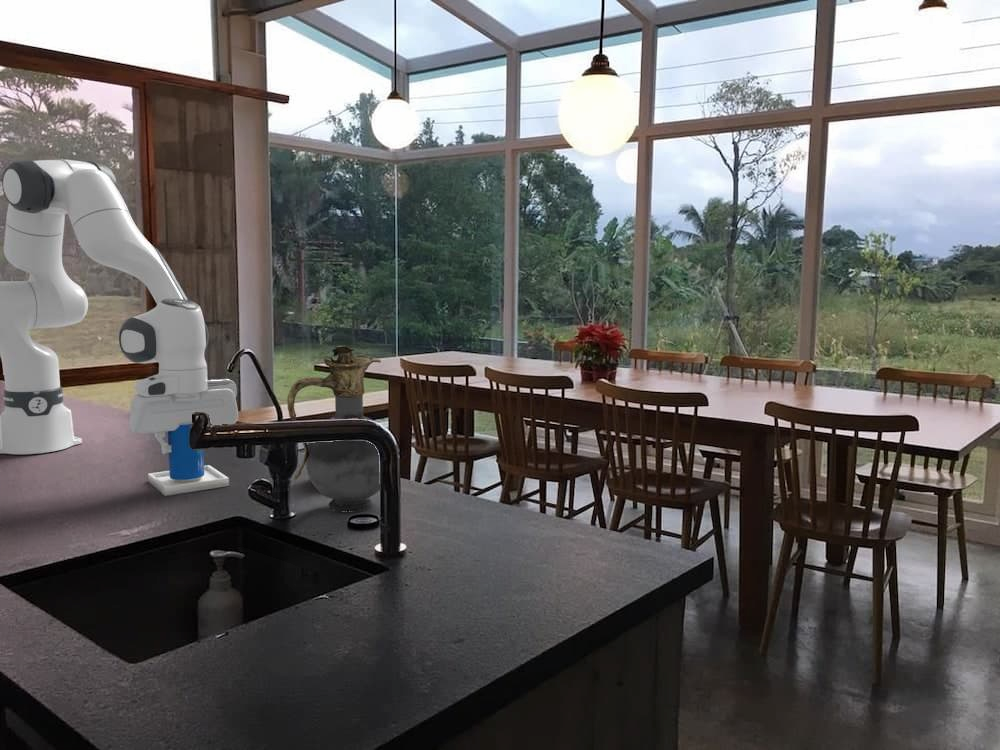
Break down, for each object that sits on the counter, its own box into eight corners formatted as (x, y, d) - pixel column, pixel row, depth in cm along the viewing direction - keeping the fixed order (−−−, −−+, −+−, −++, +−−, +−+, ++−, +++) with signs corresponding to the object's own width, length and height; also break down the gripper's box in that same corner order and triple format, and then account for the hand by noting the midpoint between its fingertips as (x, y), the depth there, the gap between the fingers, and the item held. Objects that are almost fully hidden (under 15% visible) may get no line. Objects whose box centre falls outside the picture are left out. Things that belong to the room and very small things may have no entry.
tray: (148, 481, 163) (148, 473, 163) (209, 472, 171) (209, 465, 170) (165, 495, 154) (164, 487, 154) (229, 485, 161) (228, 477, 161)
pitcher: (402, 508, 148) (401, 345, 144) (299, 525, 138) (295, 350, 134) (378, 493, 157) (377, 339, 153) (281, 508, 147) (276, 344, 143)
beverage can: (192, 484, 158) (189, 424, 157) (163, 482, 160) (160, 423, 158) (210, 476, 165) (208, 418, 163) (182, 474, 166) (179, 416, 164)
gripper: (231, 376, 168) (233, 441, 170) (125, 384, 156) (129, 454, 158) (241, 379, 163) (244, 446, 165) (133, 388, 151) (137, 461, 153)
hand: (187, 450), depth 161 cm, fingers closed on beverage can, 6 cm apart
